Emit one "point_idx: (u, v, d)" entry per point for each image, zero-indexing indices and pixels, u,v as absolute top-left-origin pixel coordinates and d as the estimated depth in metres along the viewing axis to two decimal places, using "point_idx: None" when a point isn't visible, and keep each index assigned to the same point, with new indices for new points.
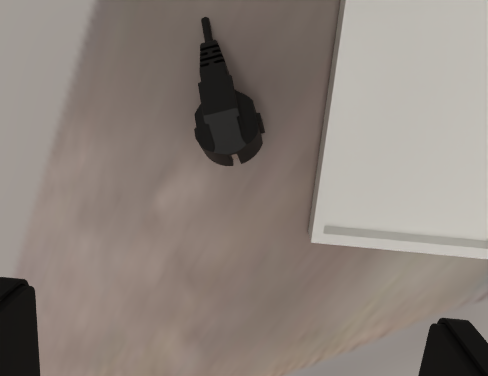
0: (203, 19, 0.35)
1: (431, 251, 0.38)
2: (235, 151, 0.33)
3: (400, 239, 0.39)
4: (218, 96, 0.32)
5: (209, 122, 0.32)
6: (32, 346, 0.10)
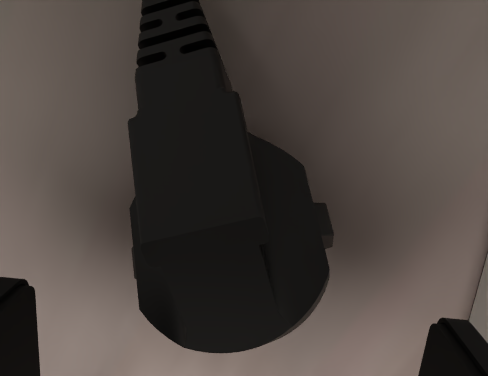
0: None
1: None
2: (255, 346, 0.10)
3: None
4: (193, 169, 0.09)
5: (163, 263, 0.09)
6: (32, 346, 0.10)
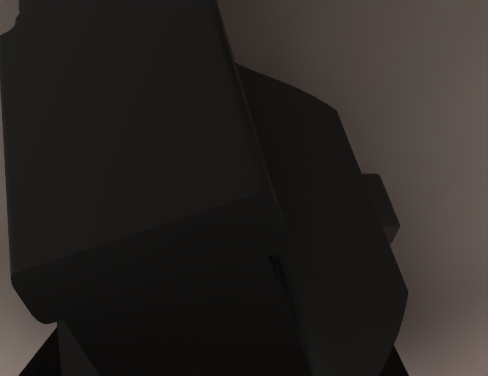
0: None
1: None
2: None
3: None
4: (116, 109, 0.04)
5: (67, 312, 0.04)
6: None
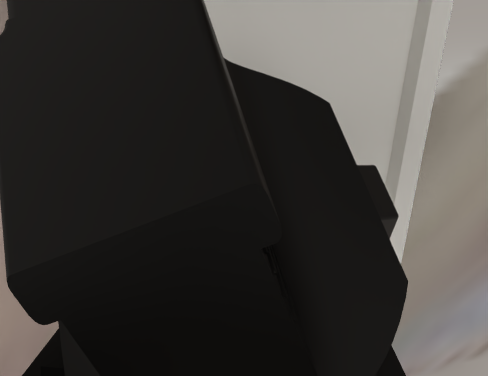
0: None
1: None
2: None
3: None
4: (107, 108, 0.04)
5: (65, 312, 0.04)
6: None
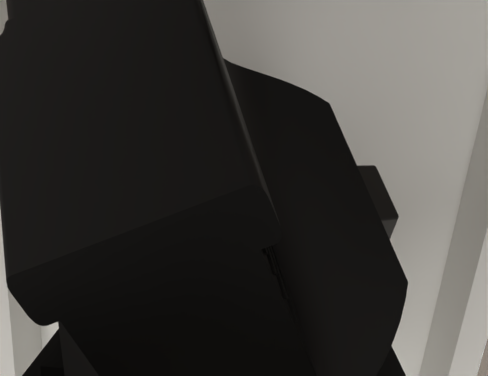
0: None
1: None
2: None
3: None
4: (105, 108, 0.04)
5: (64, 313, 0.04)
6: None
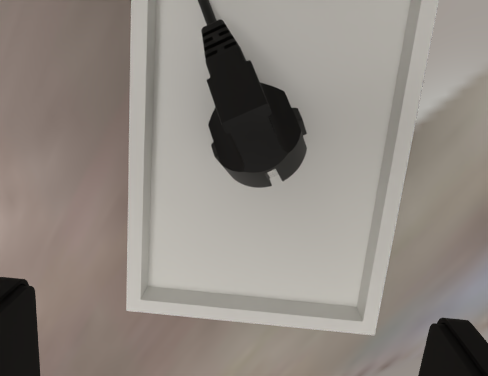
0: None
1: (278, 322, 0.30)
2: (274, 166, 0.23)
3: (240, 306, 0.30)
4: (237, 92, 0.22)
5: (231, 130, 0.22)
6: (32, 346, 0.10)
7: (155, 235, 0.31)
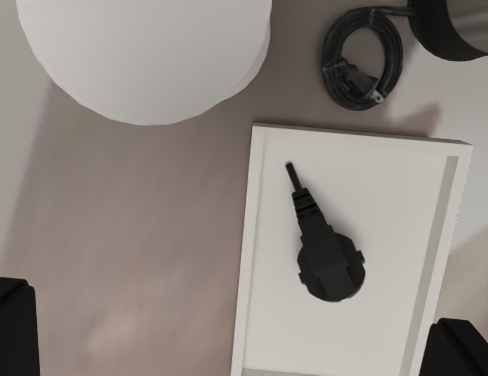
0: (287, 165, 0.36)
1: None
2: (347, 297, 0.34)
3: None
4: (323, 249, 0.33)
5: (320, 276, 0.33)
6: (32, 346, 0.10)
7: (249, 332, 0.42)
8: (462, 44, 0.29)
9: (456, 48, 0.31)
